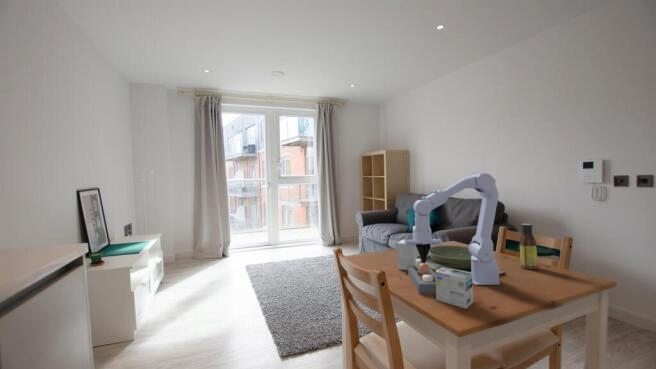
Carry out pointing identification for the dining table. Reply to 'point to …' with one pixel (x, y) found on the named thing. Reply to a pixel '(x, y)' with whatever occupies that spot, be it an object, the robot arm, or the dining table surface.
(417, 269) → the plug sage
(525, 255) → the sauce bottle
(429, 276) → the plug cream
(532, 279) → the dining table surface
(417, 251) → the supplement box
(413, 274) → the socket board
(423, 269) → the plug rust
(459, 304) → the light bulb box
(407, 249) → the supplement box
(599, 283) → the dining table surface
